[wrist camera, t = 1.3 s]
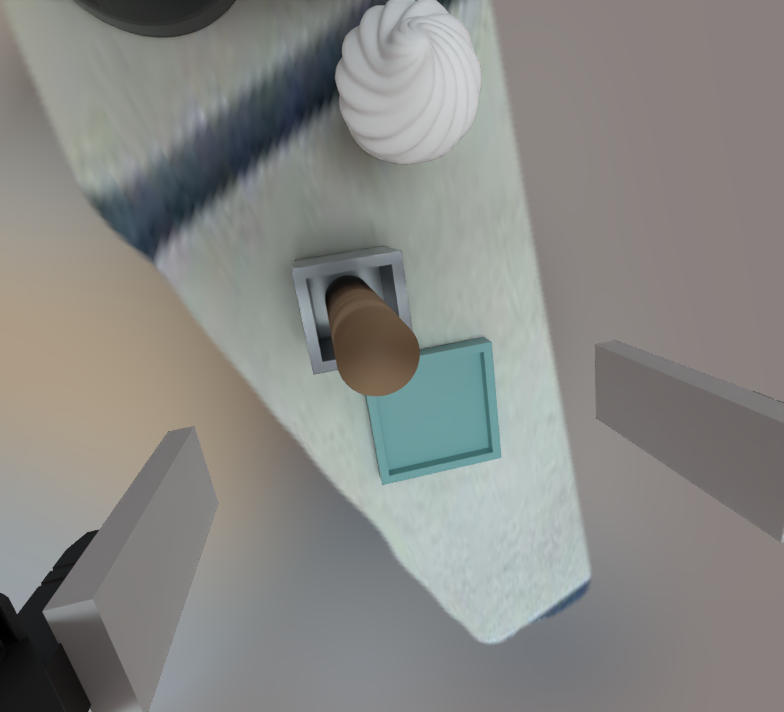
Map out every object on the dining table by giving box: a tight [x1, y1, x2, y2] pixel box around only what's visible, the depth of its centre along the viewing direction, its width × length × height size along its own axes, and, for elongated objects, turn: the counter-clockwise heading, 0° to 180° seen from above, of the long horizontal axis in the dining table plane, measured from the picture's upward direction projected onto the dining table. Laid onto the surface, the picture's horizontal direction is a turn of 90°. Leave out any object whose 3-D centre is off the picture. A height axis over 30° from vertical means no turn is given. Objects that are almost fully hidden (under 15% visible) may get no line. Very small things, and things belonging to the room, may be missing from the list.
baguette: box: [325, 275, 420, 396], centre depth 30 cm, size 4×4×18 cm
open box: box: [291, 246, 413, 374], centre depth 35 cm, size 8×8×8 cm
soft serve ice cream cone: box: [335, 0, 482, 165], centre depth 28 cm, size 8×8×16 cm
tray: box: [366, 337, 501, 485], centre depth 43 cm, size 12×12×2 cm
